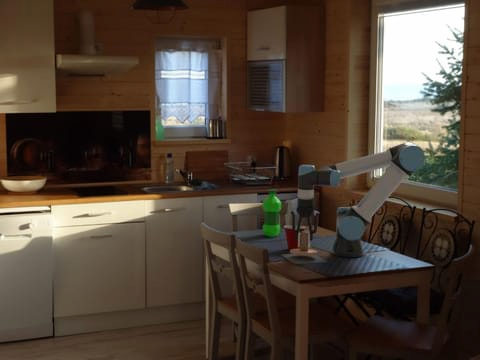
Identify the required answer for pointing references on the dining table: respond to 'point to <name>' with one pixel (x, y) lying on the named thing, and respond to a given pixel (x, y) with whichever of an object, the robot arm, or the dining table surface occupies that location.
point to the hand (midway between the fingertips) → (304, 246)
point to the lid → (304, 246)
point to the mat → (303, 259)
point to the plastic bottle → (271, 214)
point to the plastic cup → (292, 237)
